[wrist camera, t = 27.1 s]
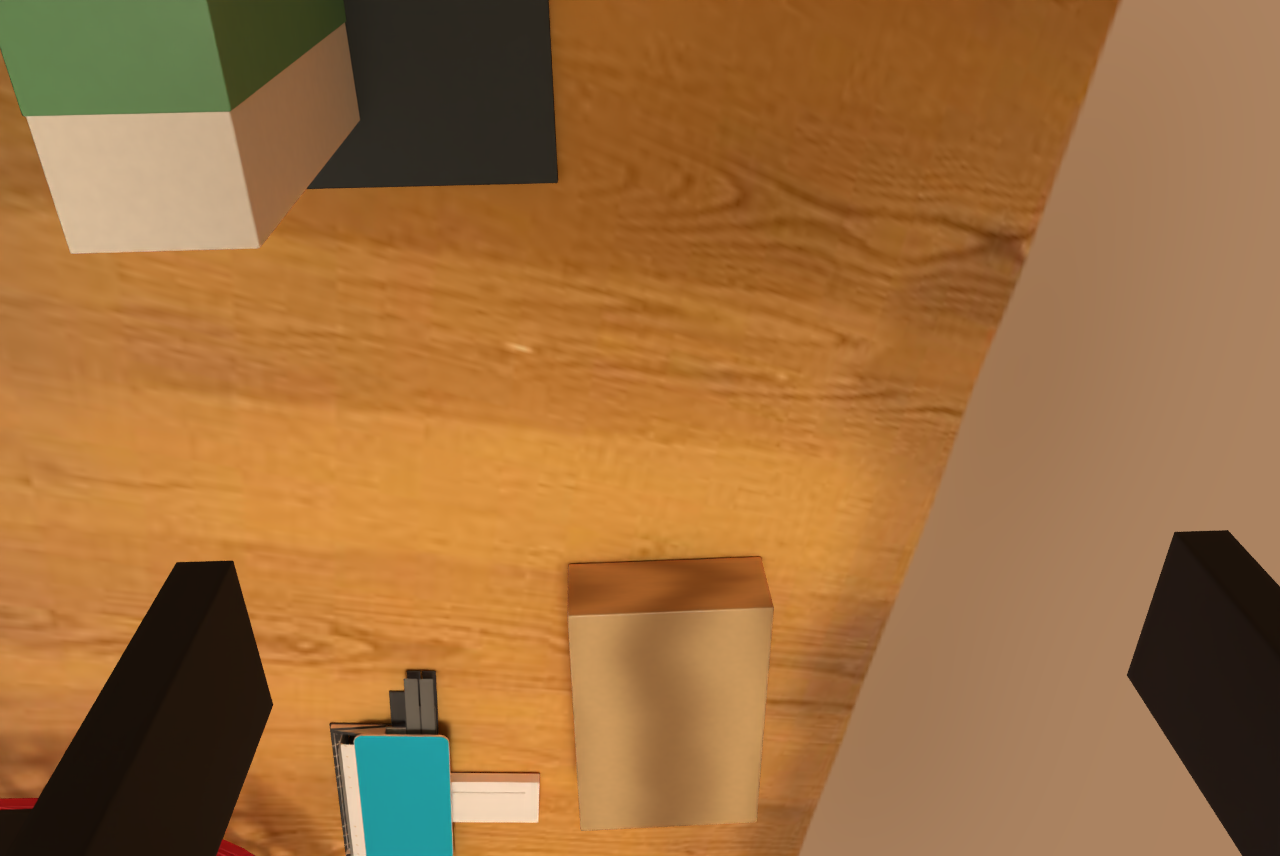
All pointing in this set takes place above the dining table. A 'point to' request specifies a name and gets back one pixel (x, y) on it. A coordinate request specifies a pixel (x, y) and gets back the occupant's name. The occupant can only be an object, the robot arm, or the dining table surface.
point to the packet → (179, 113)
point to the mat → (448, 95)
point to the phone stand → (416, 781)
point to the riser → (669, 690)
